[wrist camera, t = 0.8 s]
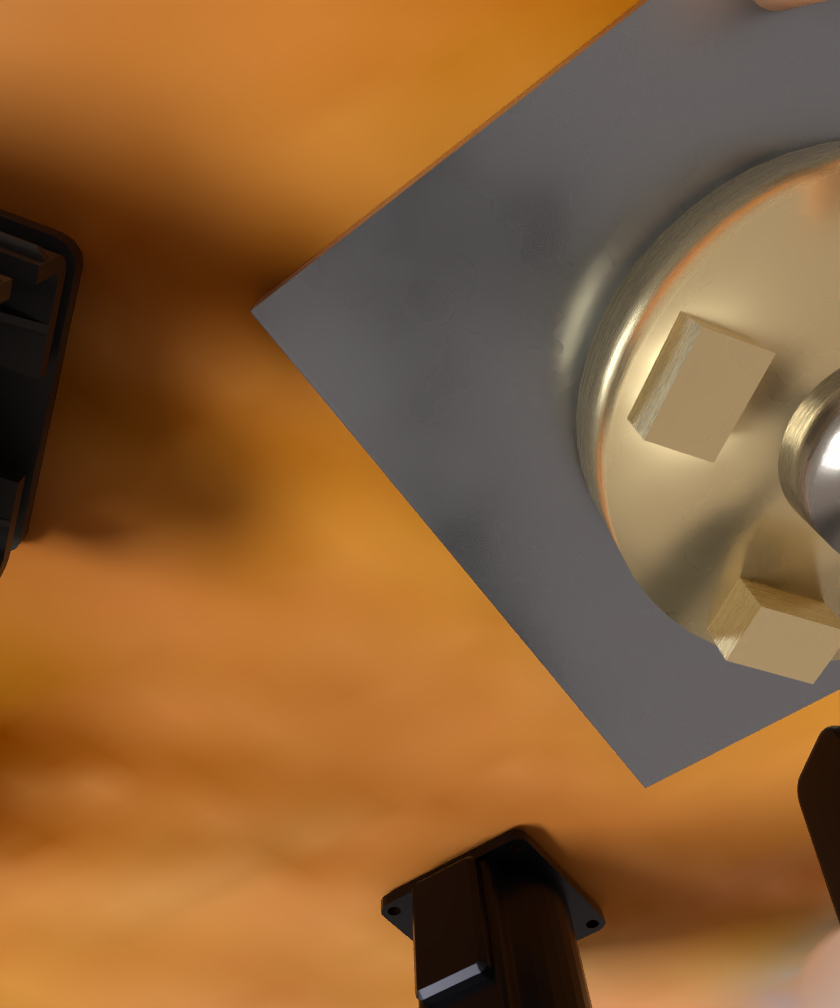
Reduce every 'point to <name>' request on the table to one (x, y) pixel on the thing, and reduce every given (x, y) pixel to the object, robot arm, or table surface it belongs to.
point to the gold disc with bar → (730, 416)
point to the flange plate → (560, 340)
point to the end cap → (30, 358)
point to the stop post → (784, 4)
